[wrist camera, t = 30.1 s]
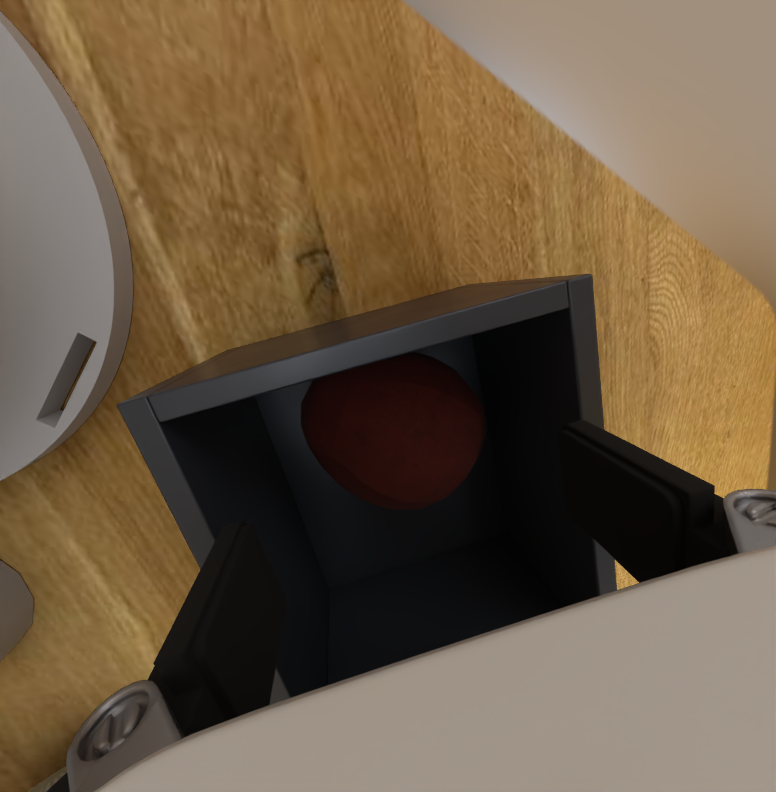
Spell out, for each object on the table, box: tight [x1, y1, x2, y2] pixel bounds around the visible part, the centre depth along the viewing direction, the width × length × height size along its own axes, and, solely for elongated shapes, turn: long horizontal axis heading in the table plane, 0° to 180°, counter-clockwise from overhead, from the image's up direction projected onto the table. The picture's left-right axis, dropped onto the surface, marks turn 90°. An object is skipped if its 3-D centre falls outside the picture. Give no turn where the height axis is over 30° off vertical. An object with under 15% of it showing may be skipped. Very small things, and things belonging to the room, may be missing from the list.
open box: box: [117, 274, 617, 705], centre depth 17 cm, size 17×14×10 cm
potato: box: [301, 352, 486, 510], centre depth 16 cm, size 7×8×7 cm
